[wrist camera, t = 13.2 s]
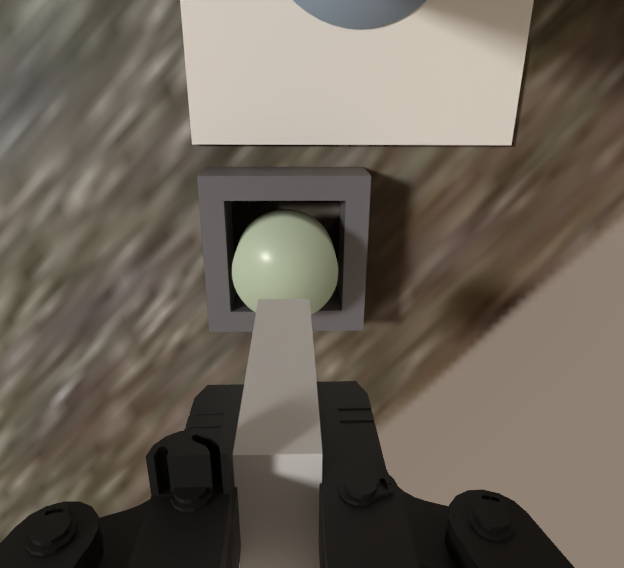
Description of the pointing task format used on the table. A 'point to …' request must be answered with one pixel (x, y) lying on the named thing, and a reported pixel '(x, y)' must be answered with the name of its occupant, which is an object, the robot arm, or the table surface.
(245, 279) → the button
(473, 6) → the paper sheet
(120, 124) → the table surface
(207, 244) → the button housing
